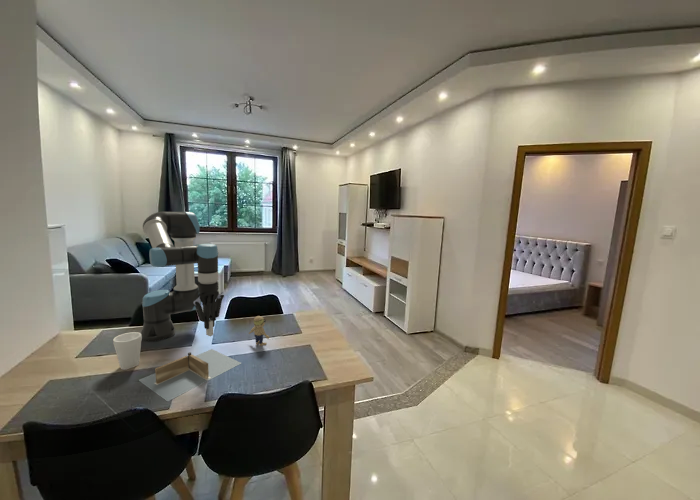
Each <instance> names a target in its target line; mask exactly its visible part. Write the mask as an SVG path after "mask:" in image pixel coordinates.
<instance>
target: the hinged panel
mask: <svg viewBox="0 0 700 500" xmlns="http://www.w3.org/2000/svg"><path fill="white" fill-rule="evenodd" d="M187 356H188V364H189V368H190V369H191V370H192V371H194V372H196V373H197V374H199V375H201V376H202V377H204V378H208V377H209V371H208V363H207V362H205V361H203V360H201V359H199V358H198V357H196V355H194V354H193V353H192V352H191V351H190V352H188V353H187Z"/></svg>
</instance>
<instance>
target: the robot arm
mask: <svg viewBox="0 0 700 500" xmlns="http://www.w3.org/2000/svg"><path fill="white" fill-rule="evenodd" d="M199 222H200V221H199V219H198V217H197V215H196V213H195V212H189V211H158V212H155V213H153V214H151V215H149V216H148V217H146V219H144V221H143V223H142V230H143V233H144V234H145V236H147V237H148V240H149V242H150V245H151V248H150V249H149V254H148V255H149V262H150V266H151V267H157V268H158V267H162V268H163V267H169V266H170V267H172V266H175V278H176V279H175V281H176V285H175V286H174V287H173V291H170V290H168V289H159V290H158V289H157V290H154V291H151V292H148V293H146V294H144V296H143V297H142V305H141V306H142V312H143V313H142V314H143V326H142V327H141V332H140V333H141V334H142V340H141V341H143V342H159V341H163V340H166V339H169V338H171V337H173V336H174V335H175V334H176V327H175V326H174V323H173V321H172V320H171V319H172V318H171V315H174V314H179V313H180V314H181V313H185V312H192V311H196V313H197V318H198V321H200V322H202V323H203V324H204V325H203V326H204V327H203V328H204V329H205V332H206V333H205V334H206V336H208V337H212V336H214V327H215V323H216V322H215V321H216V320H217V318H219V316H220V313H221V307H222V303H223V299H224V298H225V294H224V293H223V294H222V293H220V291H219V289H220V288H219V250H218V246H217V245H216V244H215V243H201V244H199V243H198V244H194V240H195V239H196V238H197V235H198V234H200V223H199ZM169 235H170V236H169ZM171 239H172V240H173V241H174V244H173V242H172V240H171ZM195 264H197V281H198V284H197V283H196V281H195V280H196V279H195Z"/></svg>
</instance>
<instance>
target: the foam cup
mask: <svg viewBox="0 0 700 500" xmlns="http://www.w3.org/2000/svg"><path fill="white" fill-rule="evenodd" d="M142 341H143V340H142V334H141V332H137V331H136V332H135V331H134V332H133V331H132V332H126V333H122V334H119V335H117V336H115V337H114V338H113V339H112V342H113V346H114V349H115V353H116V357H117V360H118V364H119V367H120V369H121V370H123V371H127V370H129V369H133V368H134V367H137V366H139V365H140V357H141V347H142Z"/></svg>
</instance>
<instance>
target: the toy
mask: <svg viewBox="0 0 700 500" xmlns="http://www.w3.org/2000/svg"><path fill="white" fill-rule="evenodd" d="M265 323H266V319H265V318H264V317H263V316H260V315H257V316H255V317H254V318H253V324H254V326H253V327H252V328H251V330H250V331H249V332H248V334H249V335H250V334H251V333H253V335H254V337H255V345H259V346H265V345H267V342H264V337H265V338H266V339H267V340H269V339H270V336H269V335H267V333H266V331H265V329H264V326H265Z"/></svg>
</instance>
